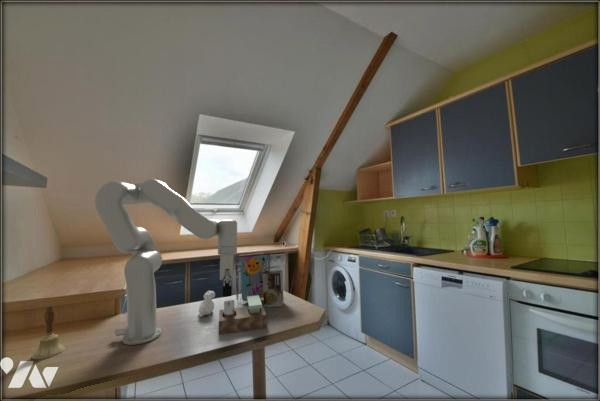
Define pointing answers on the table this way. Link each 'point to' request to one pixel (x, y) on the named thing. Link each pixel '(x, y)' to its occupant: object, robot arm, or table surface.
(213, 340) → the table surface
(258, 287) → the box
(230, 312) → the peg
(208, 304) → the bust
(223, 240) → the robot arm
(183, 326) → the table surface
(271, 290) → the coffee box
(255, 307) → the button
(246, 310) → the socket block
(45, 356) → the hand bell
